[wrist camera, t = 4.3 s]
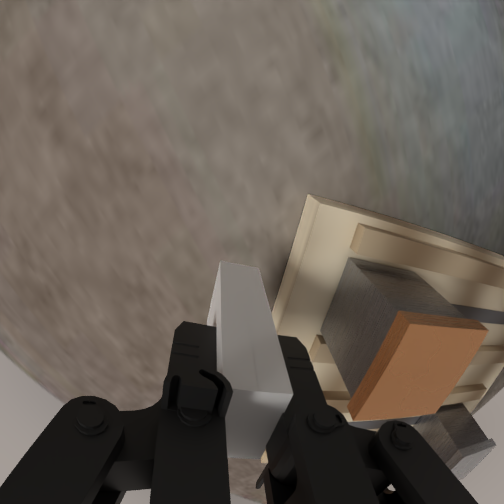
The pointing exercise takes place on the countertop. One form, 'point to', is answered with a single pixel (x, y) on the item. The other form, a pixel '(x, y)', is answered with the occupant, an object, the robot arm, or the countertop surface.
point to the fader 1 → (396, 341)
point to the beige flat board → (395, 255)
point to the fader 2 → (455, 438)
